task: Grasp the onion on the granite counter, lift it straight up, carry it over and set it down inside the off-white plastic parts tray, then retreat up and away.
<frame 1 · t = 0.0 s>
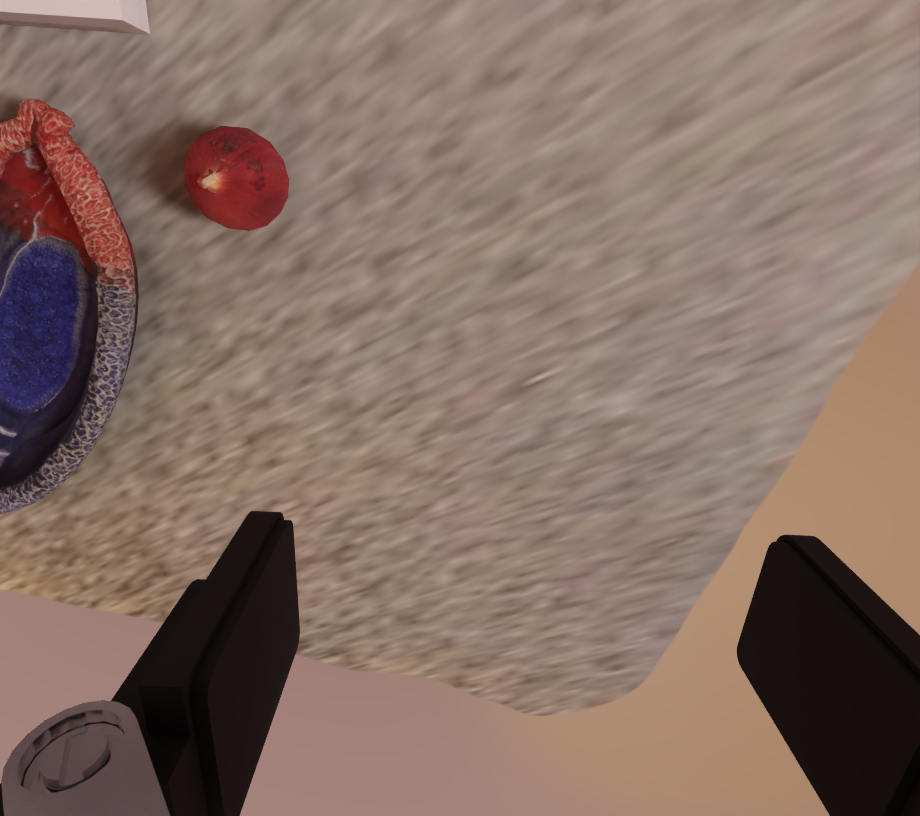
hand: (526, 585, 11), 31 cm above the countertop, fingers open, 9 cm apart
dish: (44, 324, 41), on the countertop
onion: (259, 181, 37), on the countertop
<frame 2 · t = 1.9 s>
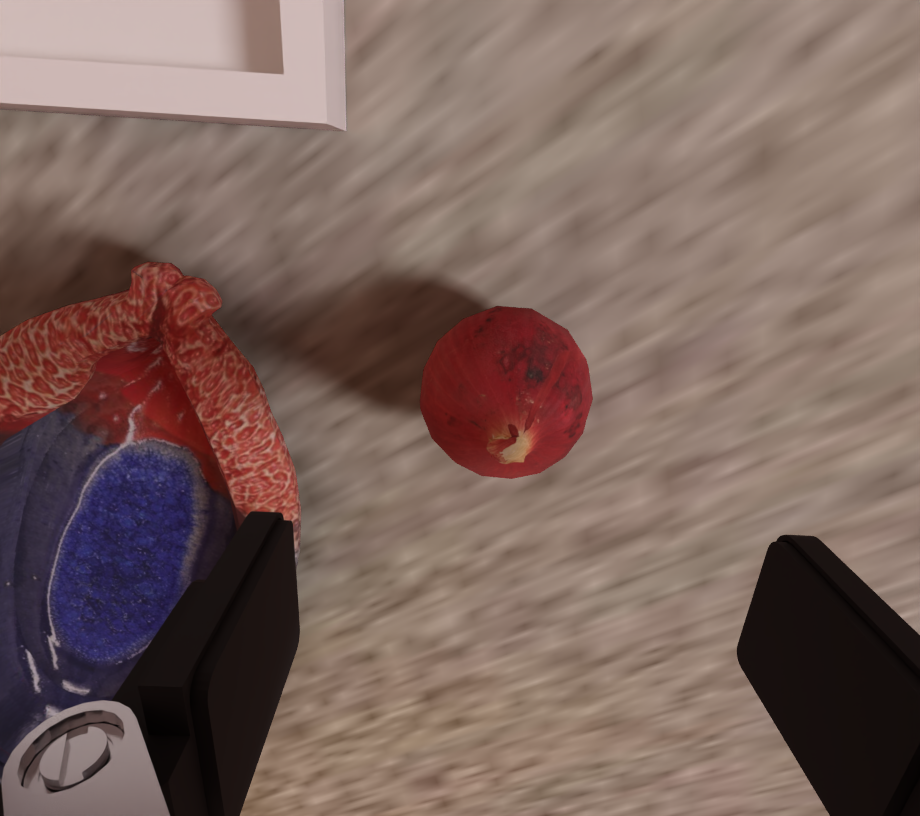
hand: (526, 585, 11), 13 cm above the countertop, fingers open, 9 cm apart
dish: (136, 549, 27), on the countertop
onion: (498, 358, 23), on the countertop
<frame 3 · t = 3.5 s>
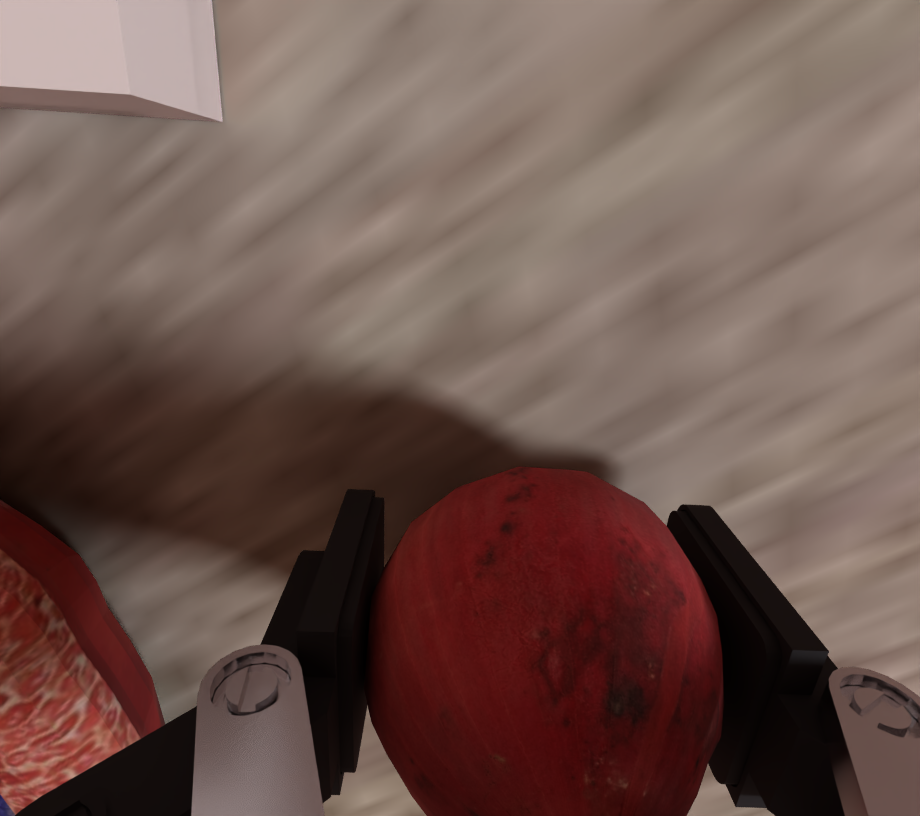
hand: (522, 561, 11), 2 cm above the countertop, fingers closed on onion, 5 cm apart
onion: (513, 514, 13), on the countertop, touching gripper
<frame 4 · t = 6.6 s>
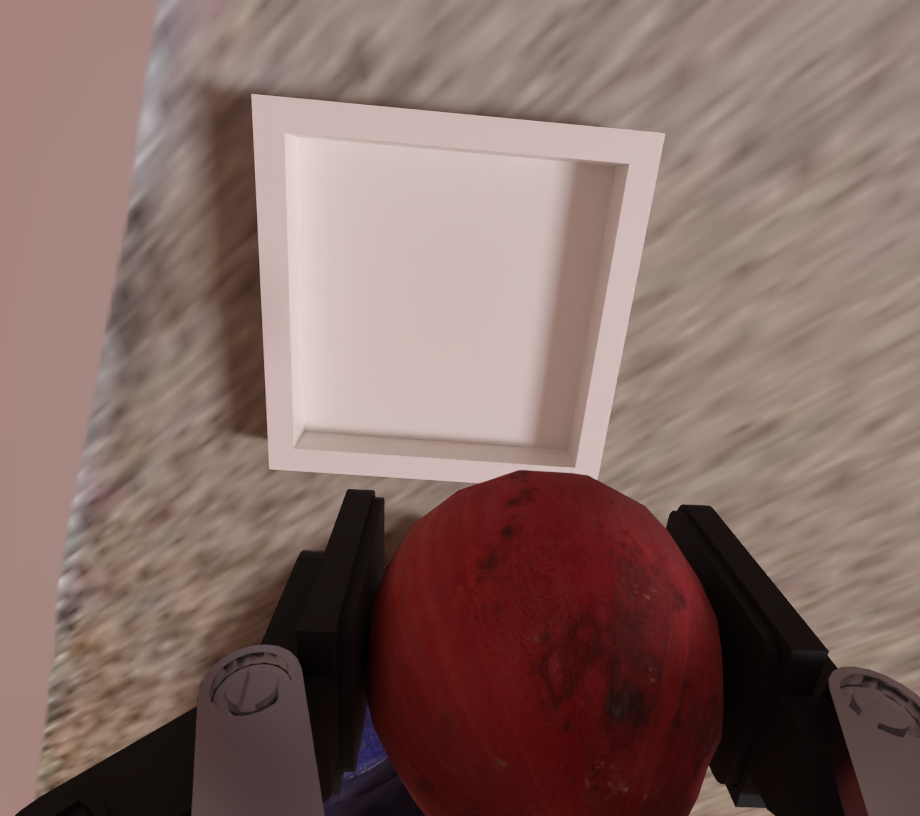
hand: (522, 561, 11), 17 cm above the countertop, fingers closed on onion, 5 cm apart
dish: (378, 699, 37), on the countertop
parts tray: (446, 305, 27), on the countertop
onion: (513, 516, 13), point 16 cm above the countertop, touching gripper
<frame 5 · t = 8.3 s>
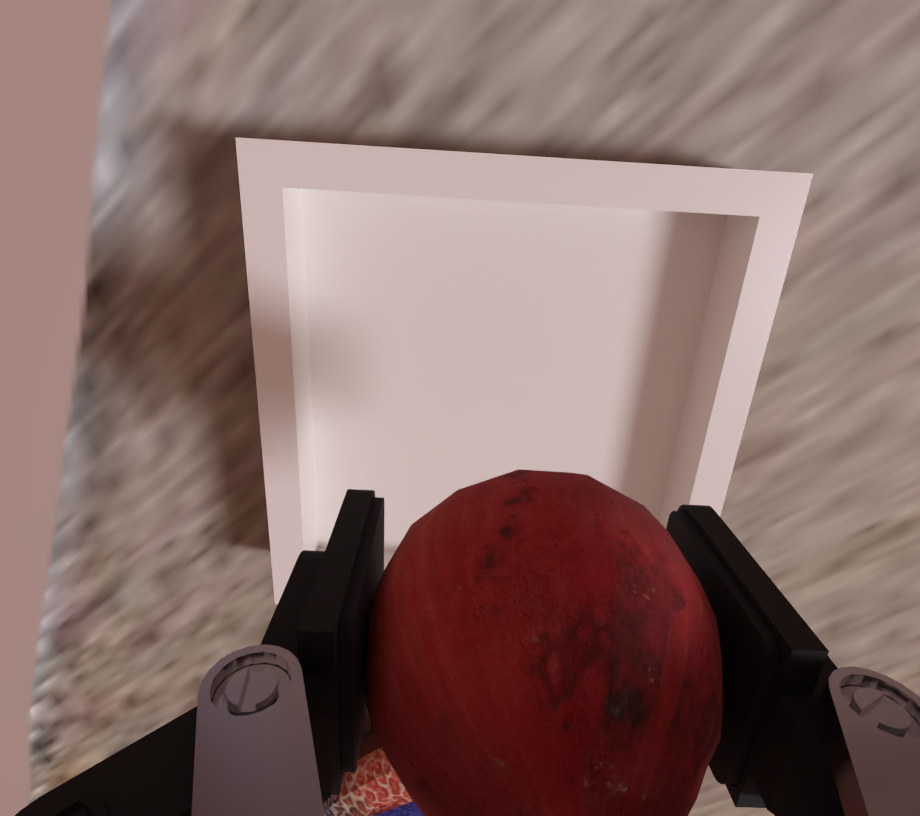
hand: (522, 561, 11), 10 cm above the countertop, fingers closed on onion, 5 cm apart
parts tray: (496, 390, 21), on the countertop
onion: (513, 516, 13), point 8 cm above the countertop, touching gripper
when the fingers open (5 cm above the countertop, at t = 9.7 s): onion drops 2 cm, resting on parts tray.
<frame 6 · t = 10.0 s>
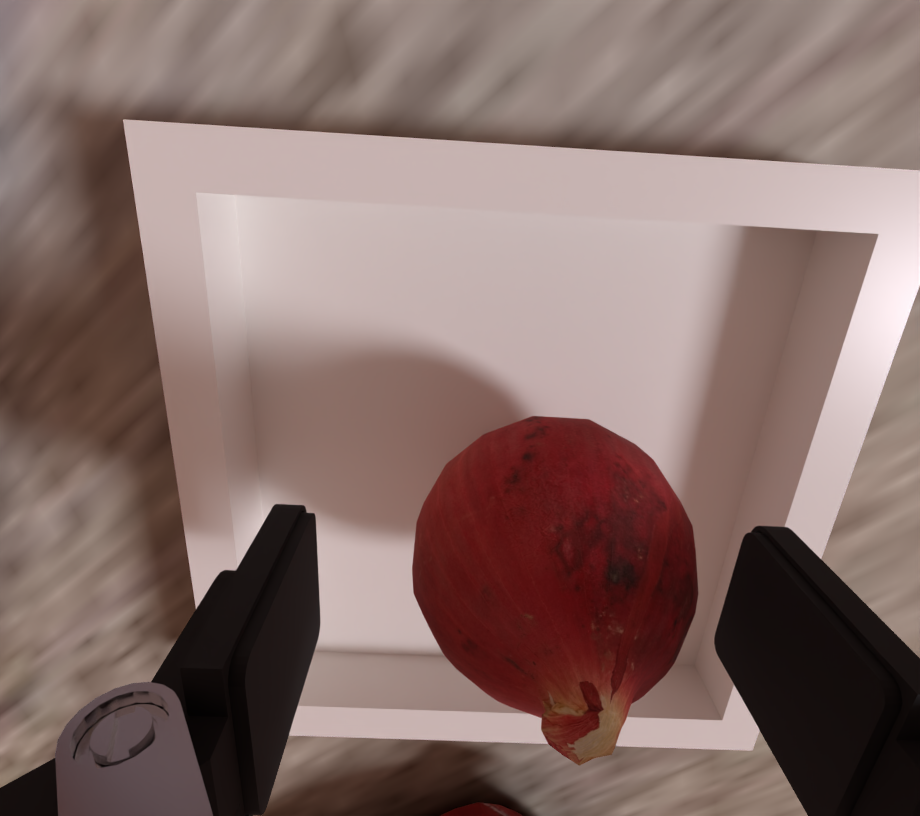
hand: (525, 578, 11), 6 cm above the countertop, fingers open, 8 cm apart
parts tray: (502, 454, 16), on the countertop
onion: (525, 466, 15), point 1 cm above the countertop, touching parts tray
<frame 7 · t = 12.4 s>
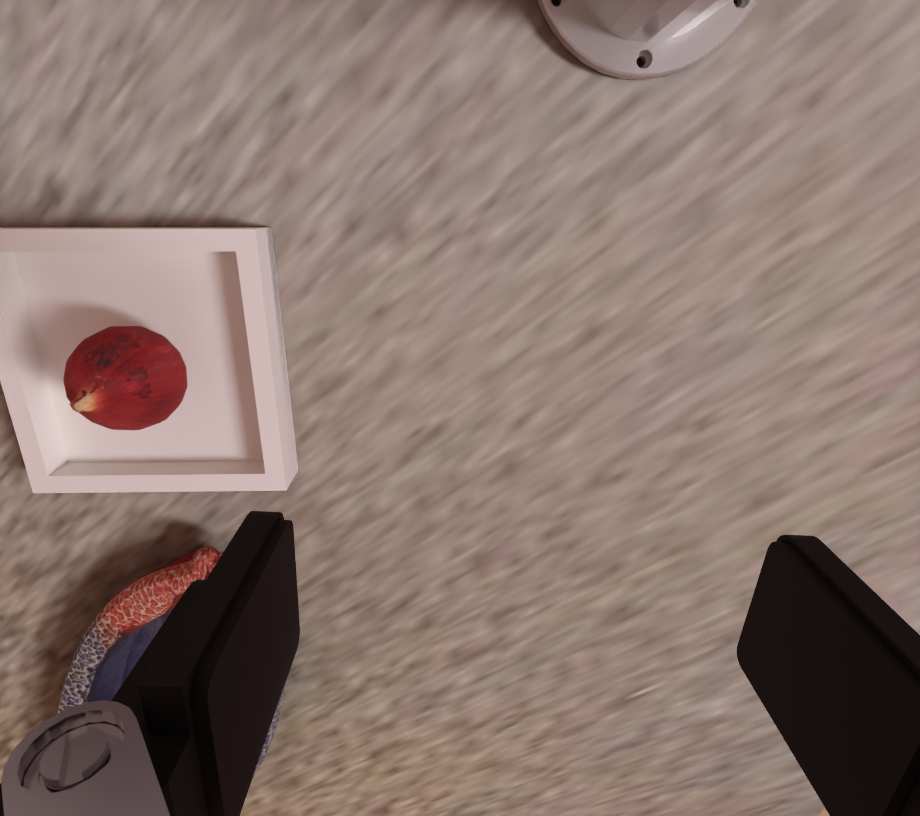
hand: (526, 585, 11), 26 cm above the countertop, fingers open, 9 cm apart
dish: (191, 676, 45), on the countertop
parts tray: (160, 358, 35), on the countertop
onion: (163, 360, 34), point 1 cm above the countertop, touching parts tray
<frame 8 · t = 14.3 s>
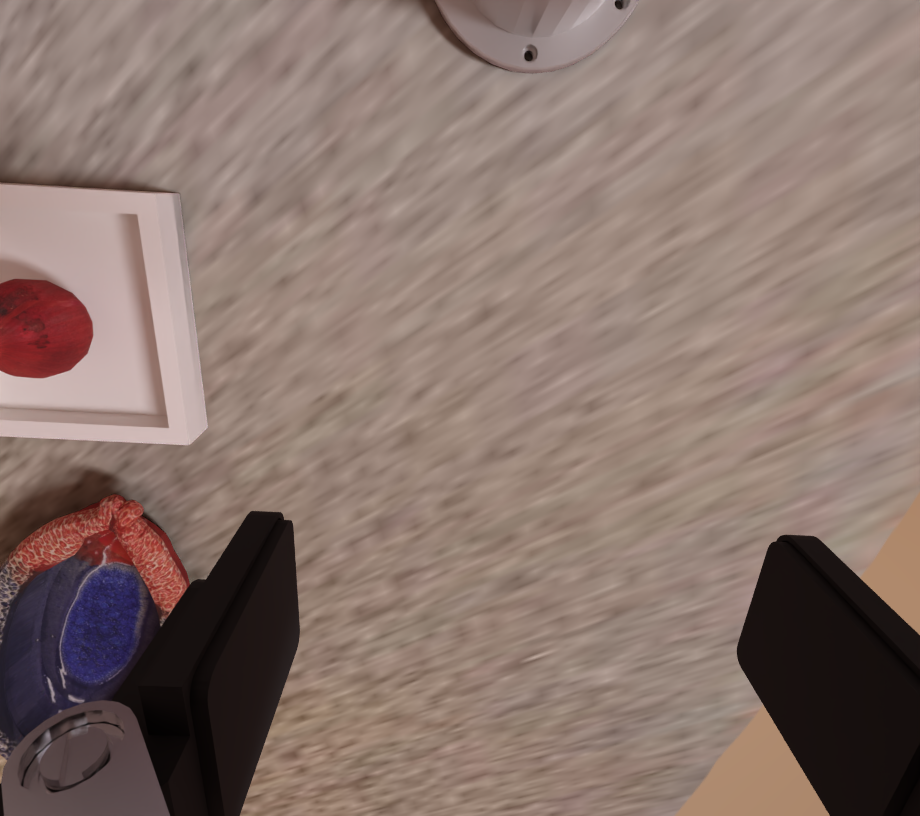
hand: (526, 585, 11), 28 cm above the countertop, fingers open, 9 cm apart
dish: (109, 618, 47), on the countertop
parts tray: (74, 313, 37), on the countertop
onion: (75, 315, 36), point 1 cm above the countertop, touching parts tray
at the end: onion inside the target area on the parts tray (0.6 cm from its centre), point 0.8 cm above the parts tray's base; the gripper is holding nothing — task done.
